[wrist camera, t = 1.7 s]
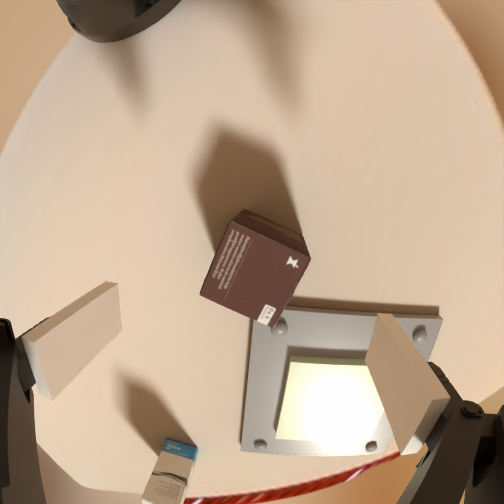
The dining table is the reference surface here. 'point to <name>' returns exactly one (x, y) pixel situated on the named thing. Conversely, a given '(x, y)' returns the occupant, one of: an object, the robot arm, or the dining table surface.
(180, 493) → the ink box
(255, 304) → the box
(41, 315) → the dining table surface
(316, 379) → the board
